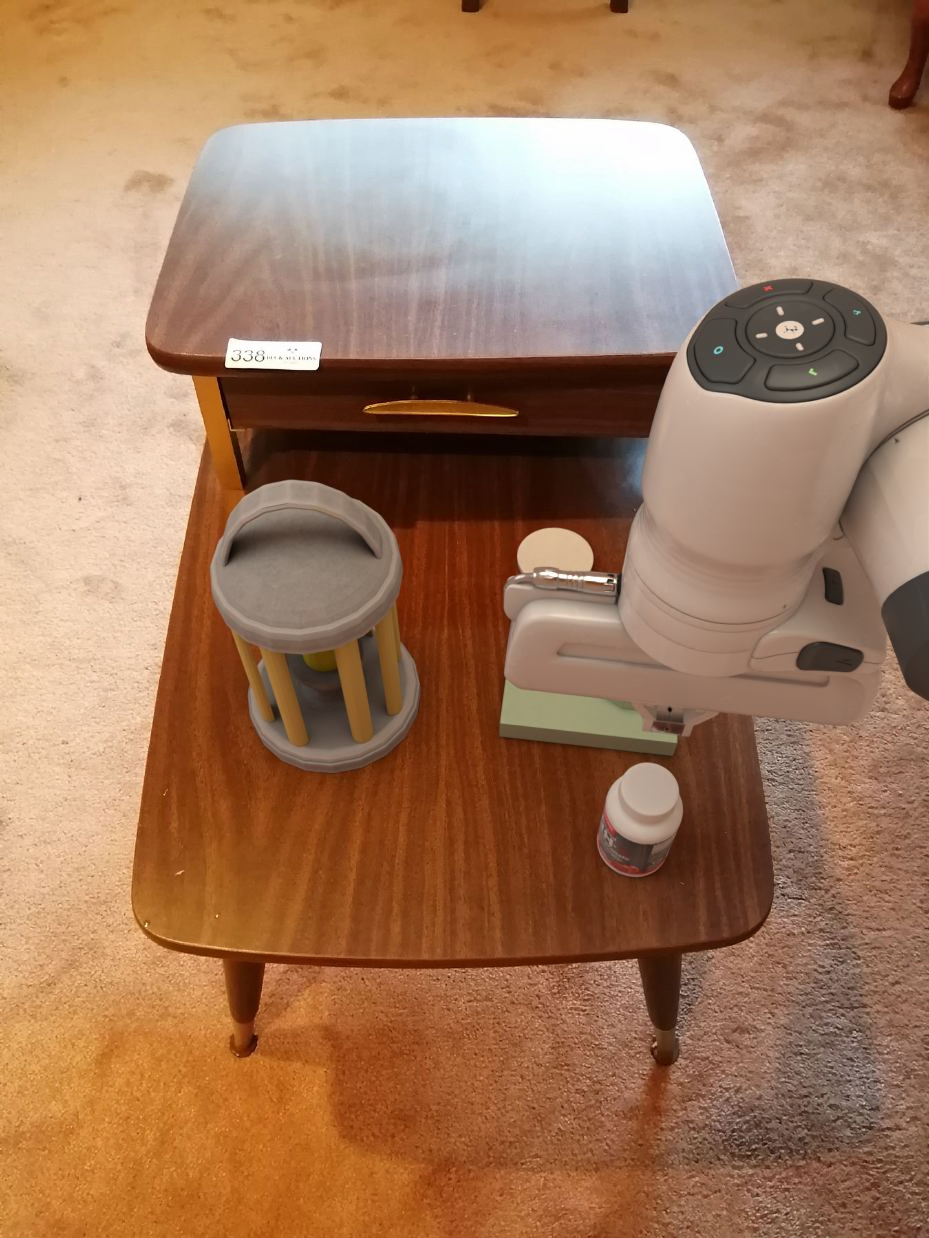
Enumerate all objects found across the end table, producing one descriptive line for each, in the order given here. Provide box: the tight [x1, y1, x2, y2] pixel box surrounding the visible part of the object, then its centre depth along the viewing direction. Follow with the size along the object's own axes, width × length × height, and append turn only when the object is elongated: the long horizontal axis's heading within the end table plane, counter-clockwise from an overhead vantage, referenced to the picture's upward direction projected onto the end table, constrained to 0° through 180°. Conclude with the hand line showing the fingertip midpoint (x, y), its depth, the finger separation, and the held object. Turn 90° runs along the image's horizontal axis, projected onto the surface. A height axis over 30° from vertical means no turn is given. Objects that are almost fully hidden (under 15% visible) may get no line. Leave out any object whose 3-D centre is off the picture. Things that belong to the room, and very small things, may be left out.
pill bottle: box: [596, 762, 684, 878], centre depth 71 cm, size 5×5×10 cm
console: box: [498, 678, 678, 757], centre depth 81 cm, size 14×12×4 cm
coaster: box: [516, 527, 594, 574], centre depth 91 cm, size 7×7×1 cm
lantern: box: [209, 479, 421, 774], centre depth 72 cm, size 14×14×25 cm
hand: (665, 724), depth 61 cm, fingers closed
